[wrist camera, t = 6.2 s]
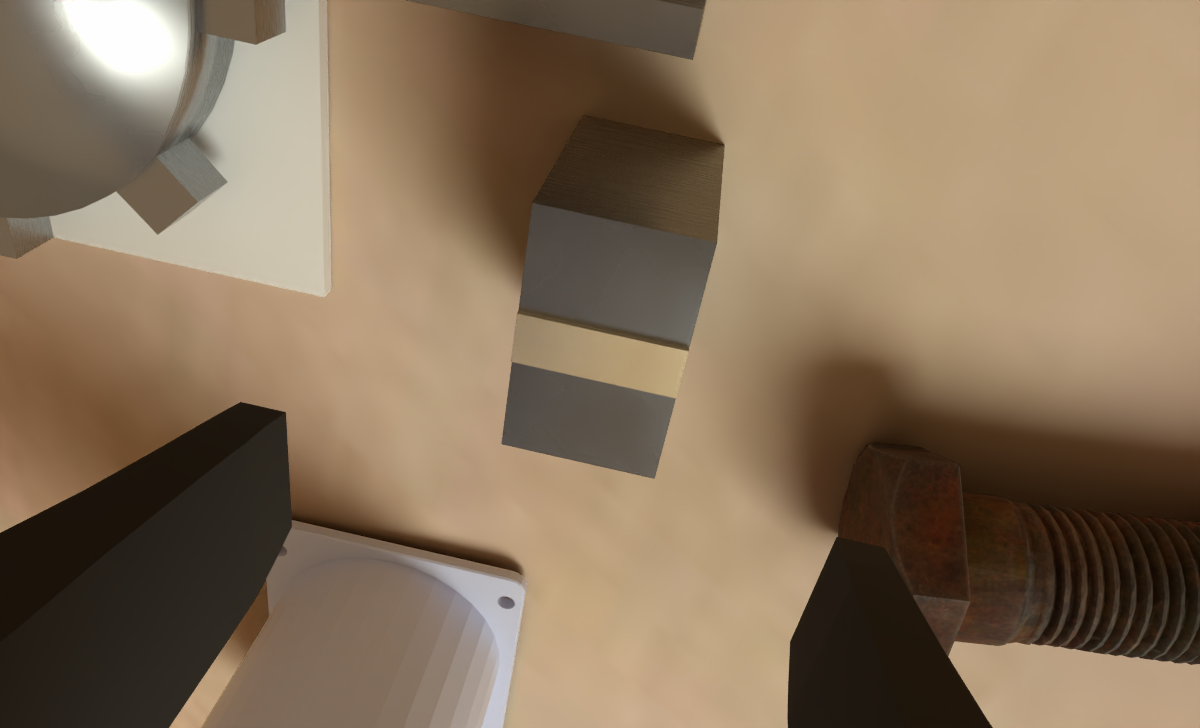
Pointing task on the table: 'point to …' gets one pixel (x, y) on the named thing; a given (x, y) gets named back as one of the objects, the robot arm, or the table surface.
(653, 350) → the banded grey block
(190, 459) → the robot arm
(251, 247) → the board
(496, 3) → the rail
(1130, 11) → the table surface
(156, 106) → the sprocket
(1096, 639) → the dark brown lumpy bar
